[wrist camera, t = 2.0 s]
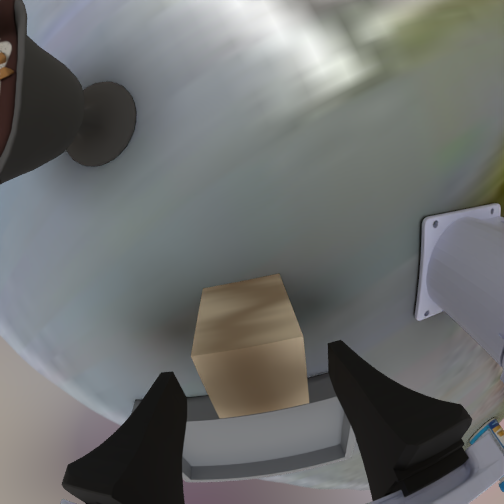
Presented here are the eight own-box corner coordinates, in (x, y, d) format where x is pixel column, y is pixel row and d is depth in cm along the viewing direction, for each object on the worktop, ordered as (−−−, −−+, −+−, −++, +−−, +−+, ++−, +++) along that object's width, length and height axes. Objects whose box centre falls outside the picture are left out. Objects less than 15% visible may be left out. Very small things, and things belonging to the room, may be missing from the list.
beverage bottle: (473, 431, 33) (508, 489, 14) (499, 410, 32) (535, 463, 14) (464, 445, 36) (494, 498, 17) (488, 427, 35) (519, 476, 17)
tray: (353, 365, 19) (365, 387, 17) (345, 440, 24) (351, 457, 21) (135, 399, 19) (128, 421, 17) (187, 464, 23) (186, 482, 21)
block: (279, 273, 16) (303, 336, 10) (288, 334, 17) (309, 403, 12) (203, 288, 16) (190, 356, 10) (221, 346, 17) (219, 418, 12)
